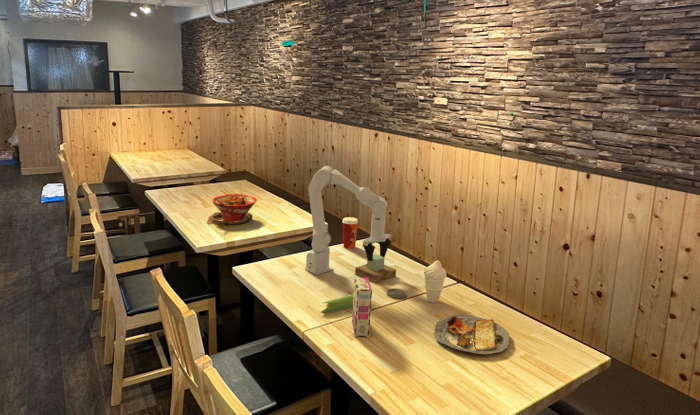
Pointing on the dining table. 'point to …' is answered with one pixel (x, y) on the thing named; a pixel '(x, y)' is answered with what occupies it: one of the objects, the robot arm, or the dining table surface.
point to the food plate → (483, 332)
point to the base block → (375, 273)
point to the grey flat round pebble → (396, 293)
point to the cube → (376, 263)
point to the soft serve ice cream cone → (434, 281)
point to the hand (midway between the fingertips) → (376, 258)
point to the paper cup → (349, 232)
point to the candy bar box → (361, 306)
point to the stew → (232, 209)
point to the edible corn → (339, 304)
